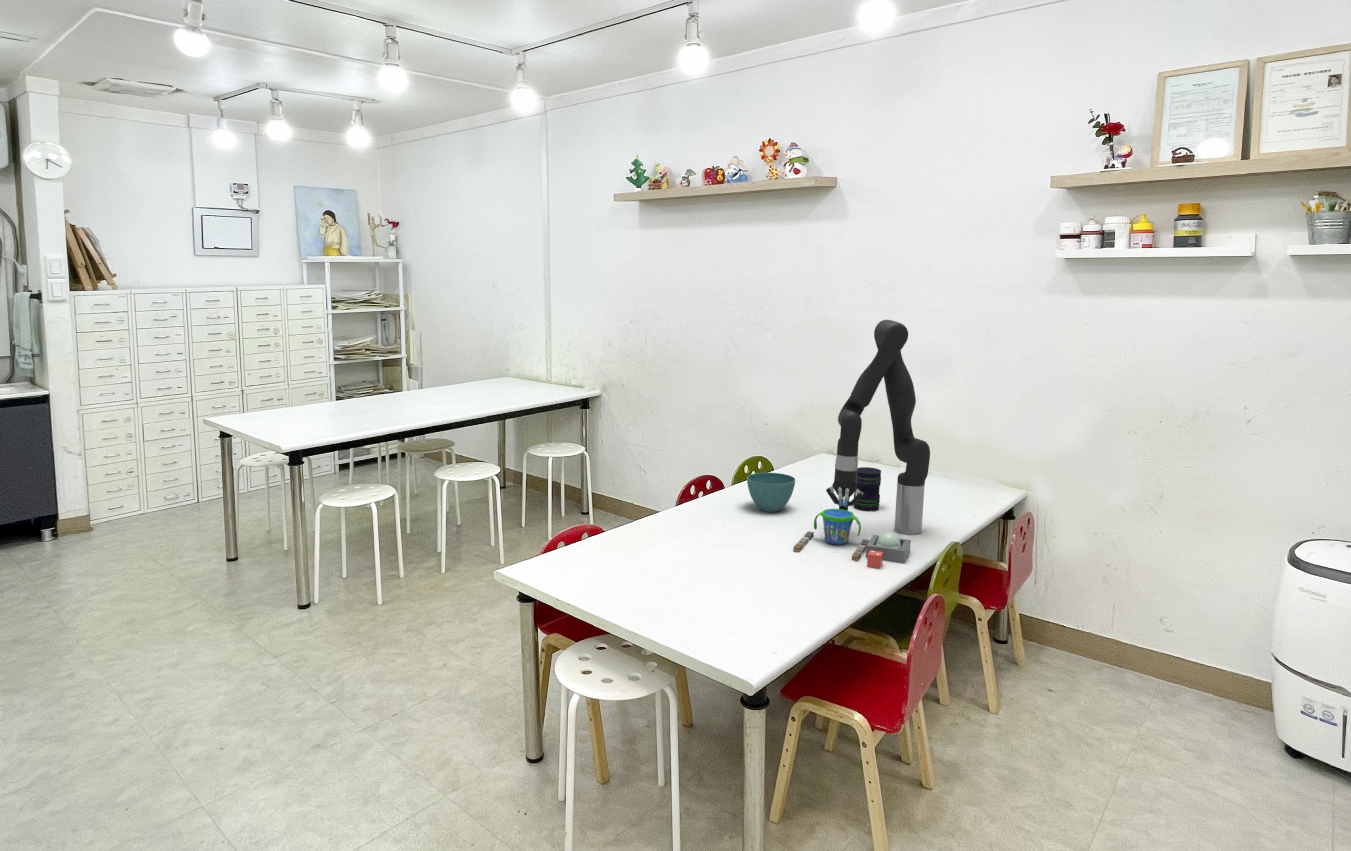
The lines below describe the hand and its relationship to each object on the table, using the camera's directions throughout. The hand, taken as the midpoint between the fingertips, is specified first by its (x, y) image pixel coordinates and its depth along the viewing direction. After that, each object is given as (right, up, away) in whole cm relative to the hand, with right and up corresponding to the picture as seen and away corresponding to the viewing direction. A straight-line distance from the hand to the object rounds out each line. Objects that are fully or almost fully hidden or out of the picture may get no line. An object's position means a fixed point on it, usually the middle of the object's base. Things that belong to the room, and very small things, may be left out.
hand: (842, 516), depth 281 cm
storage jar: (+16, -1, +33) cm, 37 cm away
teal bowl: (-22, -1, +30) cm, 37 cm away
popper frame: (+11, -10, -18) cm, 24 cm away
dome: (+11, -10, -18) cm, 24 cm away
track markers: (-6, -9, -13) cm, 17 cm away
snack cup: (-4, -8, -7) cm, 11 cm away
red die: (+4, -12, -28) cm, 31 cm away
